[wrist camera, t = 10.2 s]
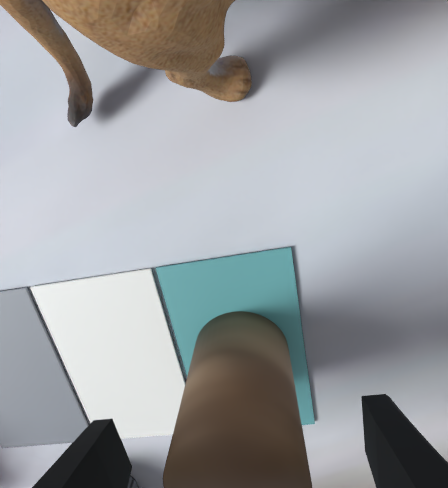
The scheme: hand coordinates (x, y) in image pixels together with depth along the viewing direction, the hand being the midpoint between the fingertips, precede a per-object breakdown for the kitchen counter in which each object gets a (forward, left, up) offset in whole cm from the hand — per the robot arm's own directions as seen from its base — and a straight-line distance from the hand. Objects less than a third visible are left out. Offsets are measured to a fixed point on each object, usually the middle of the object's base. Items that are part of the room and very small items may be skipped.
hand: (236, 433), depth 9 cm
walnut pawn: (0, 0, -4) cm, 4 cm away
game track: (-5, 0, -4) cm, 6 cm away
